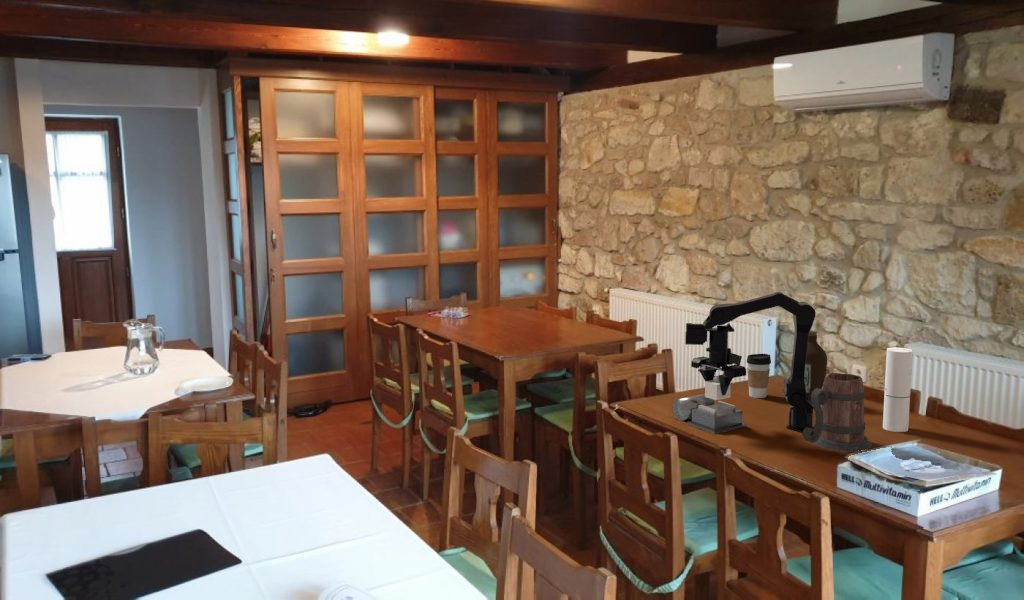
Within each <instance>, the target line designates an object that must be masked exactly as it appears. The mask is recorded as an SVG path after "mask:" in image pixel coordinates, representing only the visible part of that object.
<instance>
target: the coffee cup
mask: <svg viewBox="0 0 1024 600" xmlns="http://www.w3.org/2000/svg"><path fill="white" fill-rule="evenodd" d="M746 363H747V368H746V370H747V379H748V380H747V381H748V395H749V397H751V398H755V399H765V398H766V397H767V395H768V385H769V377H770V370H771V369H770V367H771V364H772V359H771V354H769V353H752V354H749V355H747V358H746Z"/></svg>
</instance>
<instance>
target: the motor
mask: <svg viewBox="0 0 1024 600" xmlns="http://www.w3.org/2000/svg"><path fill="white" fill-rule="evenodd" d="M716 401H717V403H716V404H715V400H714V399H711V398H707V397H705V393H702V394H697V395H692V396H688V397H687V396H686V397H683V398H677V399H675V400H674V401H673V404H672V411H673V415H674V417H675V418H676V419H677V420H679V421H681V422H682V421H687V420H688V421H687V423H686V424H687V425H689V426H691V427H694V428H696V429H699V430H702V431H704V432H706V433H707V432H708V433H710V434H713V435H716V434H719V433H720V434H721V433H724V432H729V431H734V430H738V429H741V428H745V427H748V426H747V425H748V423H746V422H743V410H741V409H737V405H735V404H731V403H729V402H728V403H727V402H725V401H721V400H716ZM689 420H690V421H689Z"/></svg>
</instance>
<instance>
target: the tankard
mask: <svg viewBox="0 0 1024 600" xmlns="http://www.w3.org/2000/svg"><path fill="white" fill-rule="evenodd" d="M865 398H866V390H865V388H864V381H863V378H862V377H861V376H859V375H857V374H856V375H855V374H852V373H840V372H839V373H838V372H829V373H826V376H825V379H824V383H823V387H822V389H819V388H816V389H814V390H813V392H812V395H811V400H812V404H813V407H814V409H813V411H814V414H815V421H814V426H813V427H814V429H812V428H809V427H806V428H805V429H804V430H803V432H802V437H803V439H804V441H805V442H809V443H812V444H813V445H814V446H817V447H819V448H823V449H825V450H830V451H837V452H843V453H844V452H845V453H851V452H852V453H856V452H855V451H858V450H859V451H858V452H862V451H861V450H865V449H867V448H870V449H871V448H872V447H871V444H872V443H871V442H870V441H869V438H868V436H866V435H865V430H866V422H865ZM865 451H866V450H865Z"/></svg>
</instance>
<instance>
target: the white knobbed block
mask: <svg viewBox="0 0 1024 600" xmlns="http://www.w3.org/2000/svg"><path fill="white" fill-rule="evenodd" d="M704 385H705V386H704V389H705V391H704V394H705V397H707V398H711V399H713V400H714V401H721V400H724V399H730V398H731V389H732V388H731V387H732V383H730V385H729V387H728V390H727V392H726V395H722V392H721V387H720V381H719V375H714V377H713V380H710V381H705V380H704Z"/></svg>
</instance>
